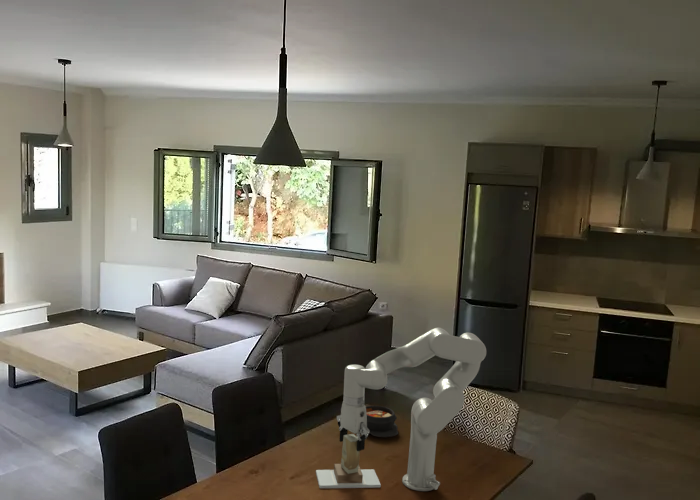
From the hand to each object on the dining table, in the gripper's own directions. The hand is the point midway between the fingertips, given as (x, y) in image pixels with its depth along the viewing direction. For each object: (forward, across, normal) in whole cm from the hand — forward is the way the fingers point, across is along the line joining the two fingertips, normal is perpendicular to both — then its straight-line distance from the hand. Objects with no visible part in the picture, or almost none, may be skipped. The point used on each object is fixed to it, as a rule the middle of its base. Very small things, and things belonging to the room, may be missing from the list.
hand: (351, 445), depth 227 cm
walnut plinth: (+13, +1, +1) cm, 13 cm away
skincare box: (+9, 0, 0) cm, 9 cm away
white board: (+13, +1, +1) cm, 13 cm away
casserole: (+14, +31, -40) cm, 52 cm away
